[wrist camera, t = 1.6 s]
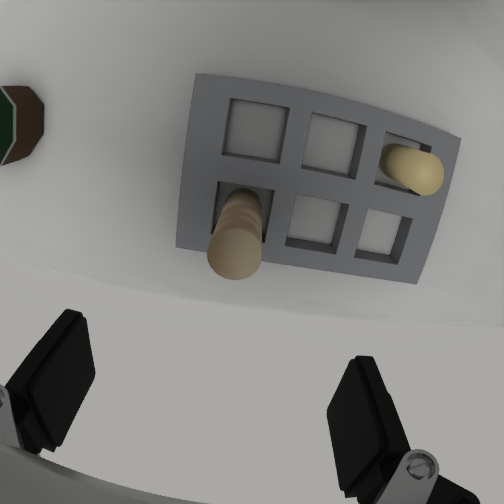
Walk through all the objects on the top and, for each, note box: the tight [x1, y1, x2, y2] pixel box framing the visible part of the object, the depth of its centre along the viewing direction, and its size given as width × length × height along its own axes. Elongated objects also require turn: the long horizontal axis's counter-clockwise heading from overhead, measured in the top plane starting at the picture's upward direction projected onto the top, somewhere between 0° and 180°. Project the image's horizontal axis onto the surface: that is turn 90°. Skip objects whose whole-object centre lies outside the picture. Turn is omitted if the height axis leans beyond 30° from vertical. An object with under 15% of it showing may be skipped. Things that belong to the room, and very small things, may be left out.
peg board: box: [176, 74, 461, 284], centre depth 23 cm, size 22×14×6 cm, turn 81°
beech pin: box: [207, 188, 262, 280], centre depth 22 cm, size 3×3×10 cm
